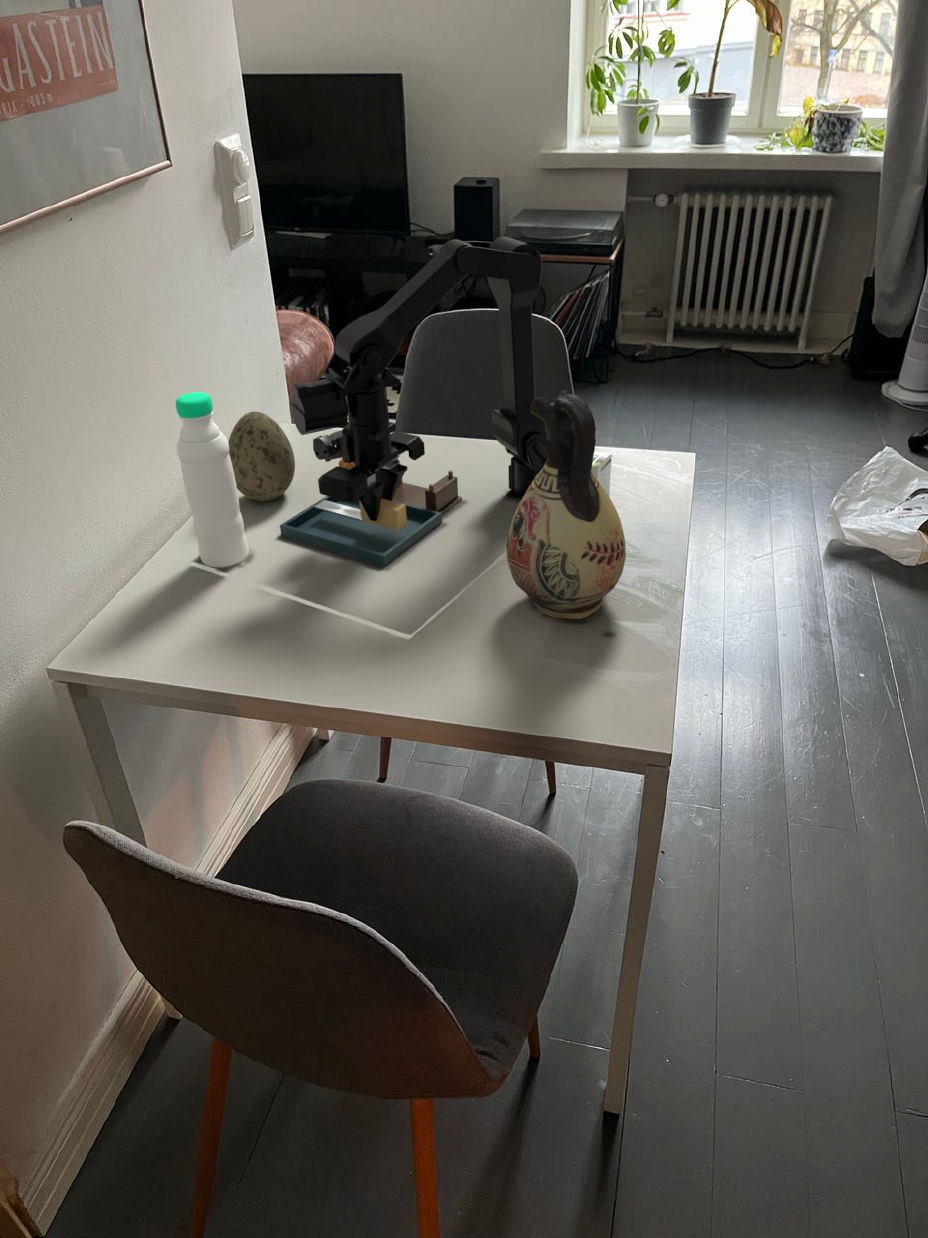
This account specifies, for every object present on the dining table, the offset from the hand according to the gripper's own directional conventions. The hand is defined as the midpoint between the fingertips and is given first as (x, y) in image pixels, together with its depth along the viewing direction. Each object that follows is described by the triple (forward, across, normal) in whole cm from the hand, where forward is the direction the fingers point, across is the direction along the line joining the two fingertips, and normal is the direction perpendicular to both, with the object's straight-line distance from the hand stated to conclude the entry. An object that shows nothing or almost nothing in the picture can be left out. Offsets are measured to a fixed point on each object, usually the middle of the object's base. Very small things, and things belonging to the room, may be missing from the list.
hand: (378, 516), depth 141 cm
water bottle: (+4, +16, -16) cm, 24 cm away
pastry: (+4, -20, -18) cm, 26 cm away
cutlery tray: (+3, 0, -4) cm, 5 cm away
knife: (+1, 0, -4) cm, 4 cm away
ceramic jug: (+4, +4, +34) cm, 34 cm away
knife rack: (+3, -12, -4) cm, 13 cm away
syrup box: (+4, -12, +28) cm, 31 cm away
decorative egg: (+4, -2, -24) cm, 25 cm away
